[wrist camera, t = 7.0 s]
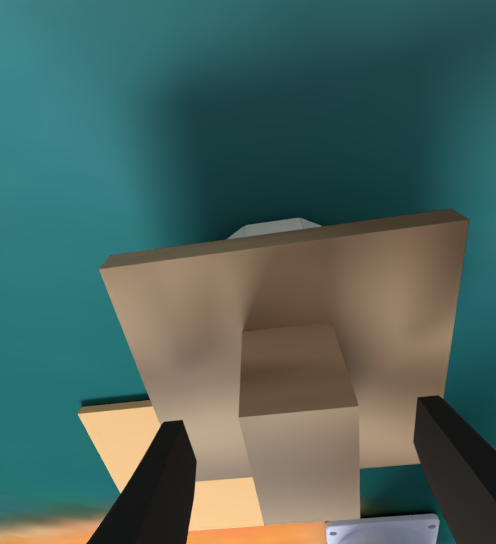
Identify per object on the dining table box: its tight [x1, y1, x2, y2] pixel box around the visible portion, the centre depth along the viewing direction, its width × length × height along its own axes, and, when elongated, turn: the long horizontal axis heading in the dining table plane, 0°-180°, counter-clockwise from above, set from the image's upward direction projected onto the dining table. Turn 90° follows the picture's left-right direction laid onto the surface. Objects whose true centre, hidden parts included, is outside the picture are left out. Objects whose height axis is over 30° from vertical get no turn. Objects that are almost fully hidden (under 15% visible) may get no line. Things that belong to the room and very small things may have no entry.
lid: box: [99, 209, 469, 526], centre depth 12 cm, size 11×11×4 cm
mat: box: [78, 400, 309, 531], centre depth 23 cm, size 13×13×1 cm
